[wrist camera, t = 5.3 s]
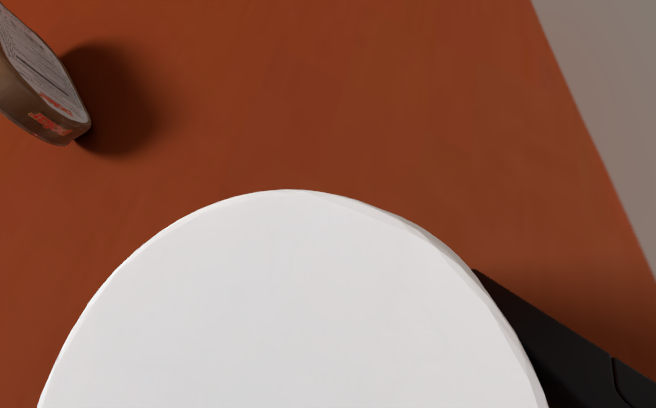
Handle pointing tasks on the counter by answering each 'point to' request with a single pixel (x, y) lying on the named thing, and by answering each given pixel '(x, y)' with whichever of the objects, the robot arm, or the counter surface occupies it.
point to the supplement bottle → (292, 317)
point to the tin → (37, 86)
